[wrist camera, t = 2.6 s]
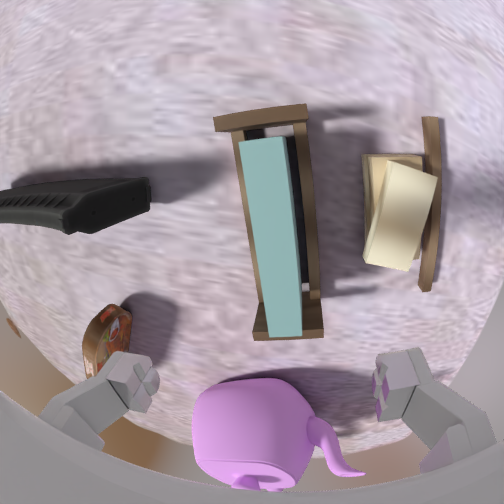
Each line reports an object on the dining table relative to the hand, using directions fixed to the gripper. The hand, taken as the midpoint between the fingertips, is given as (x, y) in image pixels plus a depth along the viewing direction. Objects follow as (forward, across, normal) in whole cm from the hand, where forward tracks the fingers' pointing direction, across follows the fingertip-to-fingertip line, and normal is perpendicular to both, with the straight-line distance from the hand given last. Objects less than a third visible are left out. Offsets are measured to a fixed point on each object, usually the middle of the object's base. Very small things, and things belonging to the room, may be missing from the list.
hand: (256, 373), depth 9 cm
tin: (+18, +24, +14) cm, 33 cm away
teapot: (+18, +5, +28) cm, 33 cm away
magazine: (+18, +27, -7) cm, 33 cm away
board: (+18, 0, 0) cm, 18 cm away
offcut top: (+15, -10, 0) cm, 18 cm away
